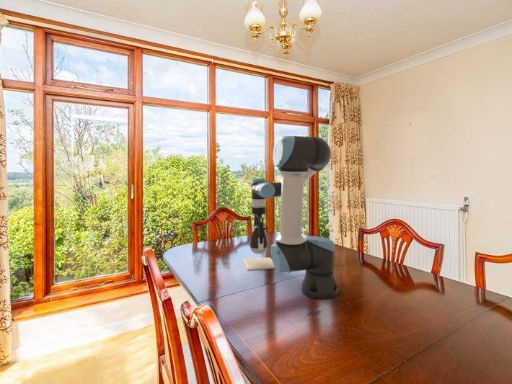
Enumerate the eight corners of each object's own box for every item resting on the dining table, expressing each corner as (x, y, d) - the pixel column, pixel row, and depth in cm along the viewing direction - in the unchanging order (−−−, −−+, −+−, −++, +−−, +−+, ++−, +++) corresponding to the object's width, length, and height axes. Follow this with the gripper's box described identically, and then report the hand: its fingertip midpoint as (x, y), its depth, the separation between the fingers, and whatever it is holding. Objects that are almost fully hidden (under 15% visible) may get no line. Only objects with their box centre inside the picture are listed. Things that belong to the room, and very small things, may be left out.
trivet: (276, 267, 150) (276, 266, 150) (247, 270, 147) (247, 268, 147) (269, 258, 165) (269, 257, 165) (242, 260, 162) (242, 259, 162)
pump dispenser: (268, 255, 150) (268, 227, 149) (249, 255, 151) (248, 227, 149) (268, 249, 161) (268, 223, 159) (249, 249, 161) (249, 223, 160)
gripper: (270, 209, 143) (270, 252, 145) (260, 203, 165) (261, 241, 167) (255, 209, 142) (256, 253, 144) (248, 204, 164) (248, 241, 166)
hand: (258, 246), depth 155 cm, fingers closed on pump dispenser, 10 cm apart
